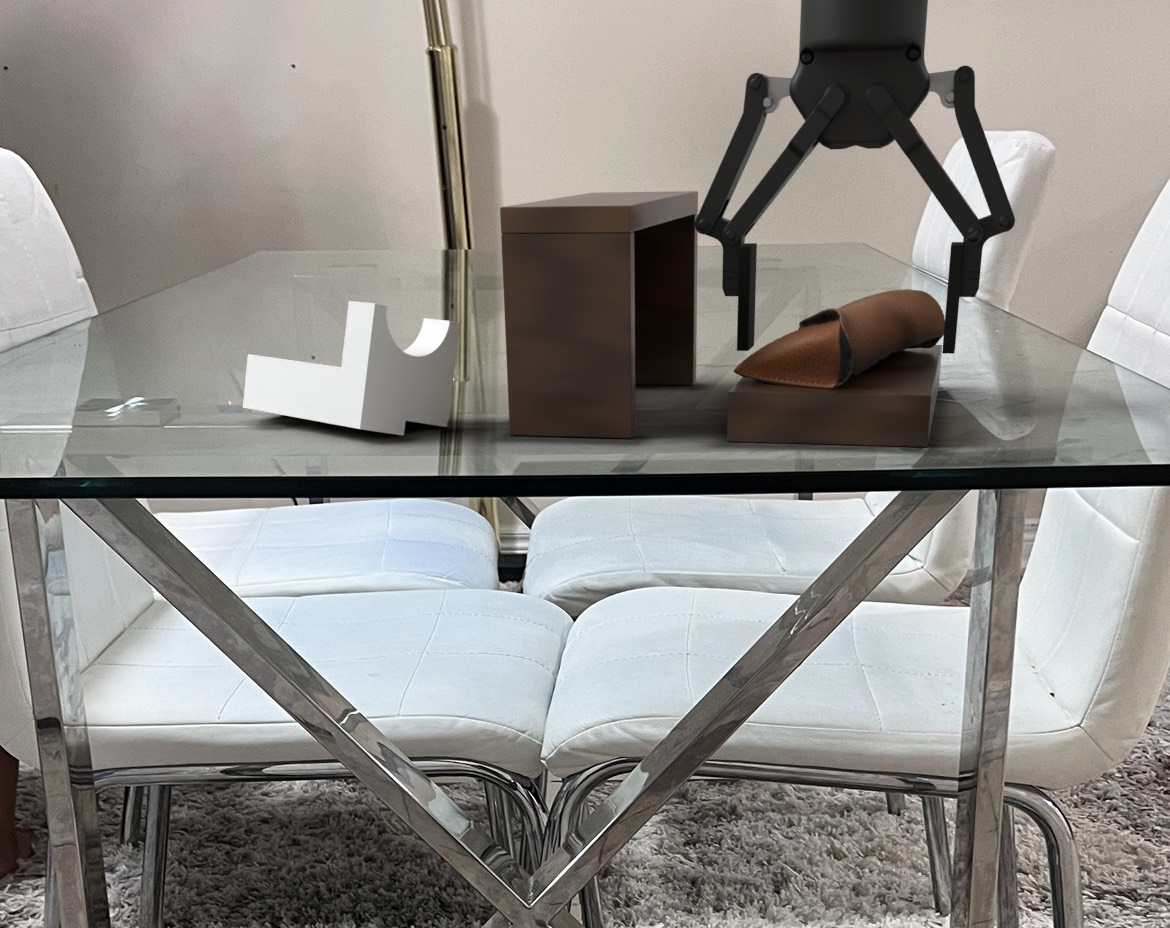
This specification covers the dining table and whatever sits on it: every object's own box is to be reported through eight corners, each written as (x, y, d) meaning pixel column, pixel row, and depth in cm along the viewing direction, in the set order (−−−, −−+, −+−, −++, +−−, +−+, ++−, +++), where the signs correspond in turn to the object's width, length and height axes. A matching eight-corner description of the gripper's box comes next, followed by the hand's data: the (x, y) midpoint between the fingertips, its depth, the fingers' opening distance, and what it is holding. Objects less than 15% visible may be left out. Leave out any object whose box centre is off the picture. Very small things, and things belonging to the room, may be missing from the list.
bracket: (444, 441, 93) (460, 323, 91) (359, 429, 87) (374, 303, 86) (326, 420, 101) (339, 311, 99) (242, 407, 96) (254, 292, 94)
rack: (938, 387, 102) (954, 187, 97) (927, 447, 83) (946, 201, 77) (594, 381, 109) (590, 192, 103) (509, 435, 89) (499, 207, 84)
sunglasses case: (829, 337, 102) (880, 254, 98) (906, 393, 100) (961, 311, 96) (725, 373, 88) (779, 278, 84) (813, 439, 86) (873, 345, 82)
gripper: (1079, -26, 84) (1038, 343, 93) (674, -7, 90) (673, 339, 99) (1086, -40, 77) (1042, 360, 86) (649, -17, 83) (650, 354, 92)
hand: (845, 350), depth 92 cm, fingers open, 13 cm apart
